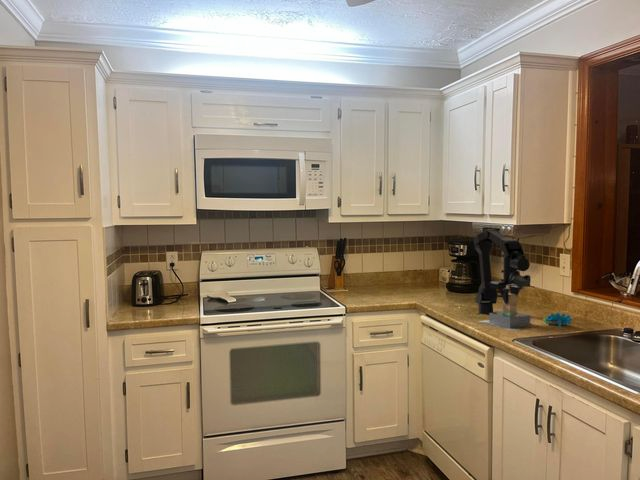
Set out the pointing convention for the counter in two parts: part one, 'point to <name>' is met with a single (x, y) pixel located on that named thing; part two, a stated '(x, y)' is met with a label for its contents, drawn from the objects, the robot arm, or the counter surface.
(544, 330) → the counter surface
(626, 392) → the counter surface
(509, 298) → the post
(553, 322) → the blue spiky toy
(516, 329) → the base plate
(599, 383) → the counter surface
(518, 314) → the guide block
